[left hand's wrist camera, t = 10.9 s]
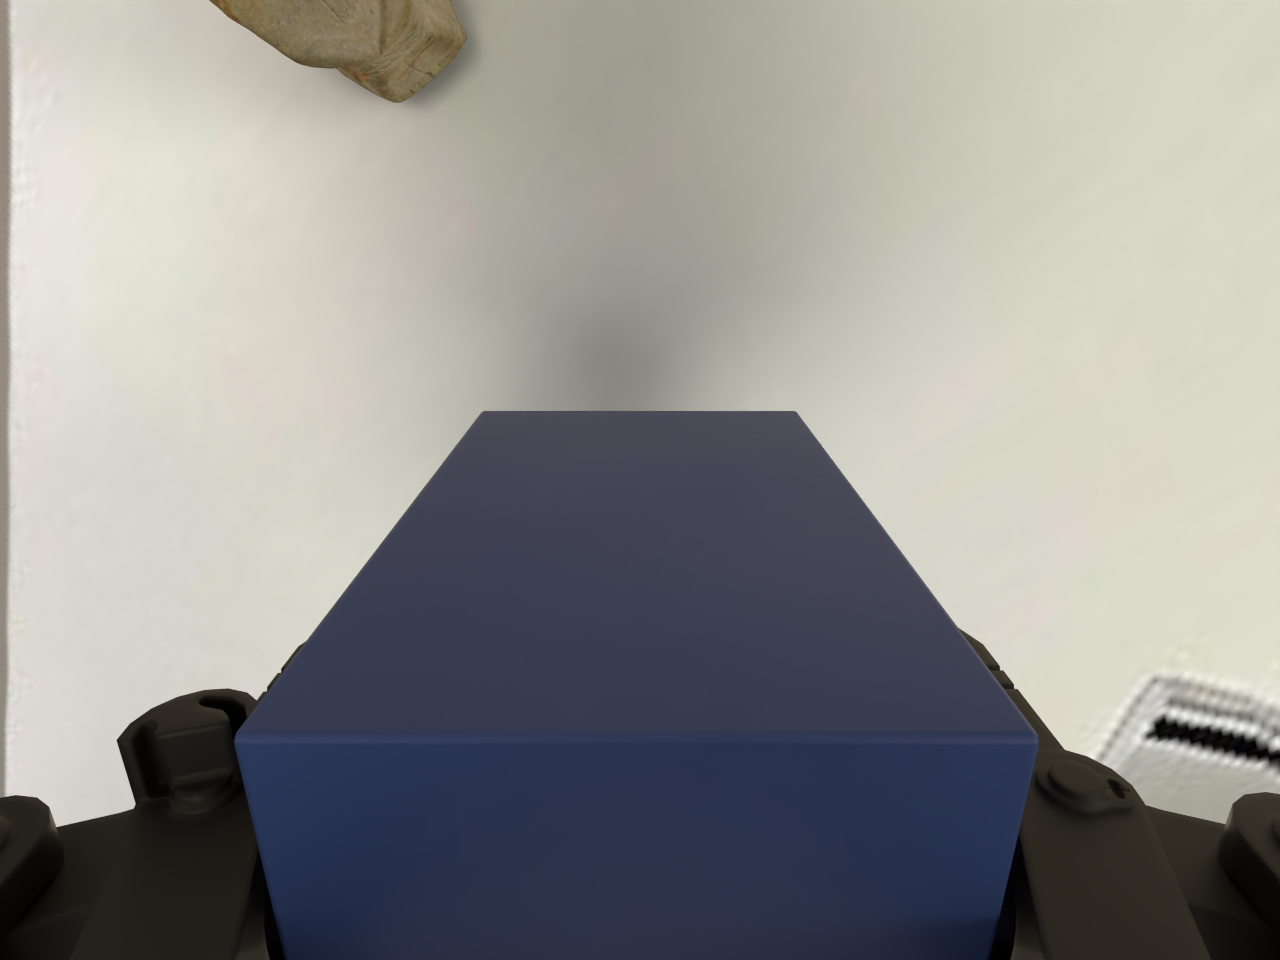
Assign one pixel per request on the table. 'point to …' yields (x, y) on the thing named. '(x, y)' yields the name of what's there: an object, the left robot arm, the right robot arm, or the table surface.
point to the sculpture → (359, 38)
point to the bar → (637, 717)
